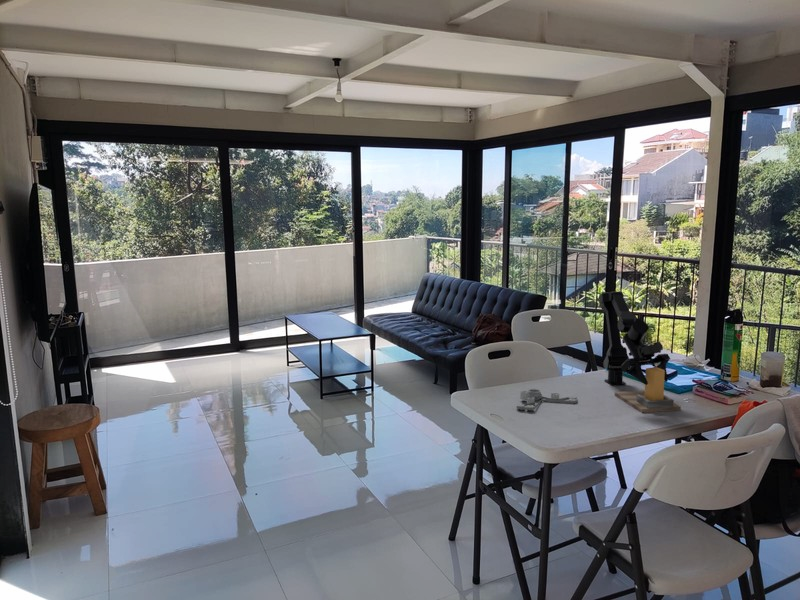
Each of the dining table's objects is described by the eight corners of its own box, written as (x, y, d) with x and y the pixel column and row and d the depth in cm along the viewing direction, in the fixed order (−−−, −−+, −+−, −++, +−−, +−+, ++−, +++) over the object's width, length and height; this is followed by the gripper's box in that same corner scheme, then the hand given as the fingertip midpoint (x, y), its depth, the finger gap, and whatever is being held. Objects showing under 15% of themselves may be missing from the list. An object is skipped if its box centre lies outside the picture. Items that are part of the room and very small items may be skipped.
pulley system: (500, 404, 226) (524, 414, 213) (500, 392, 226) (524, 401, 212) (557, 395, 237) (583, 404, 224) (557, 384, 237) (583, 392, 223)
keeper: (614, 395, 230) (614, 386, 230) (650, 392, 232) (650, 383, 232) (641, 412, 211) (642, 402, 210) (680, 409, 213) (681, 399, 212)
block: (644, 402, 218) (645, 368, 216) (653, 400, 219) (655, 367, 217) (653, 406, 213) (654, 371, 211) (663, 404, 215) (664, 370, 213)
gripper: (627, 337, 213) (649, 374, 205) (667, 332, 219) (690, 368, 211) (612, 353, 222) (632, 390, 213) (651, 348, 228) (671, 383, 219)
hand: (657, 382), depth 214 cm, fingers open, 9 cm apart
